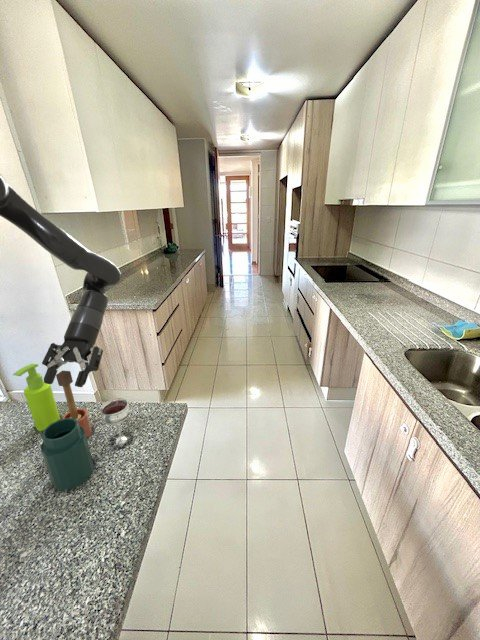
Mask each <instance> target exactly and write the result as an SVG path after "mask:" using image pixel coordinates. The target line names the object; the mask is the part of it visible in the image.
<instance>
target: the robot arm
mask: <svg viewBox="0 0 480 640" xmlns="http://www.w3.org/2000/svg"><path fill="white" fill-rule="evenodd" d="M0 217H1V218H3V219H5V220H6V221H8V222H9V223H11V224H12V225H14V226H15V227H16V228H18V229H19V230H21V231H22V232H24V234H26V235H27V236H28V237H29V238H31V239H32V240H33V241H34V242H35V243H36V244H38V245H39V246H40V247H41V248H43V249H44V250H45V251H46V252H48V253H49V254H51V255H52V257H55V258H56V259H58V260H59V261H60V262H62V263H63V264H64V265H66V266H67V267H68V268H70V269H72V270H75V271H84V272H85V273H86V274H85V276H84V279H83V283H82V292H81V297H80V299H79V300H78V303H77V306H76V307H75V308H76V309H75V310H74V311H73V313H72V315H71V318H70V320H69V323H68V325H67V328H66V330H65V332H64V335H63V342H62V344H57V343H55V342H52V343H50V344H49V347H48V349H47V351H46V353H45V356H44V357H43V360H42V363H41V364H42V365H43V366H45V367H46V368H47V369H46V371H45V375H44V376H43V381H44V383H47V384H50V385H52V384H53V383H54V381H55V378H56V375H57V374H58V371H59V370H58V369H59V368H61V367H62V366H63V365H66V364H67V363H77V364H78V365H79V368H80V370H79V371H78V374H77V377H76V380H75V382H74V386H75V387H76V388H77V387H78V388H83V387H84V386H85V384H86V383H87V380H88V377H89V374H90V373H91V372H97V371H98V370H99V368H100V364H101V361H102V357H103V353H104V349H103V348H102V347H101V348H100V347H99V346H95V345H96V342H97V340H98V339H97V338H98V336H99V333H100V330H101V327H102V325H103V321H104V316H105V313H106V310H107V307H108V303H109V298H108V296H107V295H106V291H107V289H109V288H111V287H115V286H117V285H118V284H119V283H120V282H121V280H122V273H121V270H120V269H119V268H118V267H117V265H116V264H115V263H113V262H112V261H111V260H109V259H108V258H105V257H104V256H101V255H100V254H97V253H96V252H95V251H91V250H89V249H88V248H87V247H86V246H84V245H83V244H82V243H81V242H79V241H78V240H77V239H75V238H74V237H73V236H72V235H70V234H69V233H68V232H67V231H65V230H64V229H63V228H61V227H60V226H58V225H57V224H55V223H54V222H53V221H51V220H50V219H48V218H47V217H45V215H43V214H42V213H40V212H39V210H37V209H35V208H34V207H33V206H32V205H31V204H29V203H28V202H27V200H25V199H24V198H23V197H22V196H21V195H20V194H19V193H18V192H17V191H16V190H15V189H14V188H13V187H12V186H11V185H10V184H9V183H8V182H7V181H6V179H5V178H4V177H3V175H2V174H1V173H0ZM90 355H91V356H90ZM89 356H90V358H89Z"/></svg>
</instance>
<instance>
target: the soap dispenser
mask: <svg viewBox="0 0 480 640" xmlns="http://www.w3.org/2000/svg"><path fill="white" fill-rule="evenodd" d="M37 367H39V364H38V363H34V362H33V363H29V364H28V365H25V366H23V367H21V368H19V369H18V370H16V371H15V372H13V374H12V376H16V377H21V376H23V375H24V374H26V373H27V374H28V376H26V378H25V382H26V384H27V387H25V388H24V389H23V393H24V397H25V400H26V403H27V406H28V409H29V412H30V415H31V417H32V420H33V424H34V426H35V429H36V430H37V431H38V432H43V430H44V429H45V428H47V427H48V426H49V425H50V424H52V423H54V422H56V421H58V420H60V419H61V416H60V412H59V409H58V405H57V403H56V399H55V396H54V392H53V389H52V386H51V384H47V383H44V378H43V376H42V375H43V374H41V373H38V372H37V369H36V368H37Z"/></svg>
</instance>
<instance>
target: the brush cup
mask: <svg viewBox="0 0 480 640" xmlns="http://www.w3.org/2000/svg"><path fill="white" fill-rule="evenodd" d="M76 409H77V413H78V414H80V415H81V417H82V418H81V419H79V420H78V422H79V426H80V427H82V428H83V429H84V430H85V434H86V438H87V439H88V438H89V437H90V435H92V432H93V431H92V425H91V422H90V418H89V417H90V416H89V413H88V411H87V409H85V408H76ZM70 417H71V415H70V411H67V412H66V413H65V414H64V415H63V416H62V418H61V419H65V418H70Z"/></svg>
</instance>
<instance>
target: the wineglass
mask: <svg viewBox="0 0 480 640" xmlns="http://www.w3.org/2000/svg"><path fill="white" fill-rule="evenodd" d="M99 412H100V414H101V415H100V417H101V420H102V421H103V423H104V424H106V425H107V426H113V427H114V426H116V428H117V432H118V436H119V437H118V438H117V439H116V440H115V443H116V444H117V445H123V444H125V443H126V441H127V437H126V436H122V431H121V424H123V423H124V422H126V420H127V419H128V418H129V416H130V413H131V408H130V405H129V400H127V398H124V397H115V398H111V399H108V400H107V401H105V402H104V403H103V404H102V405H101V406H100V407H99Z"/></svg>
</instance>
